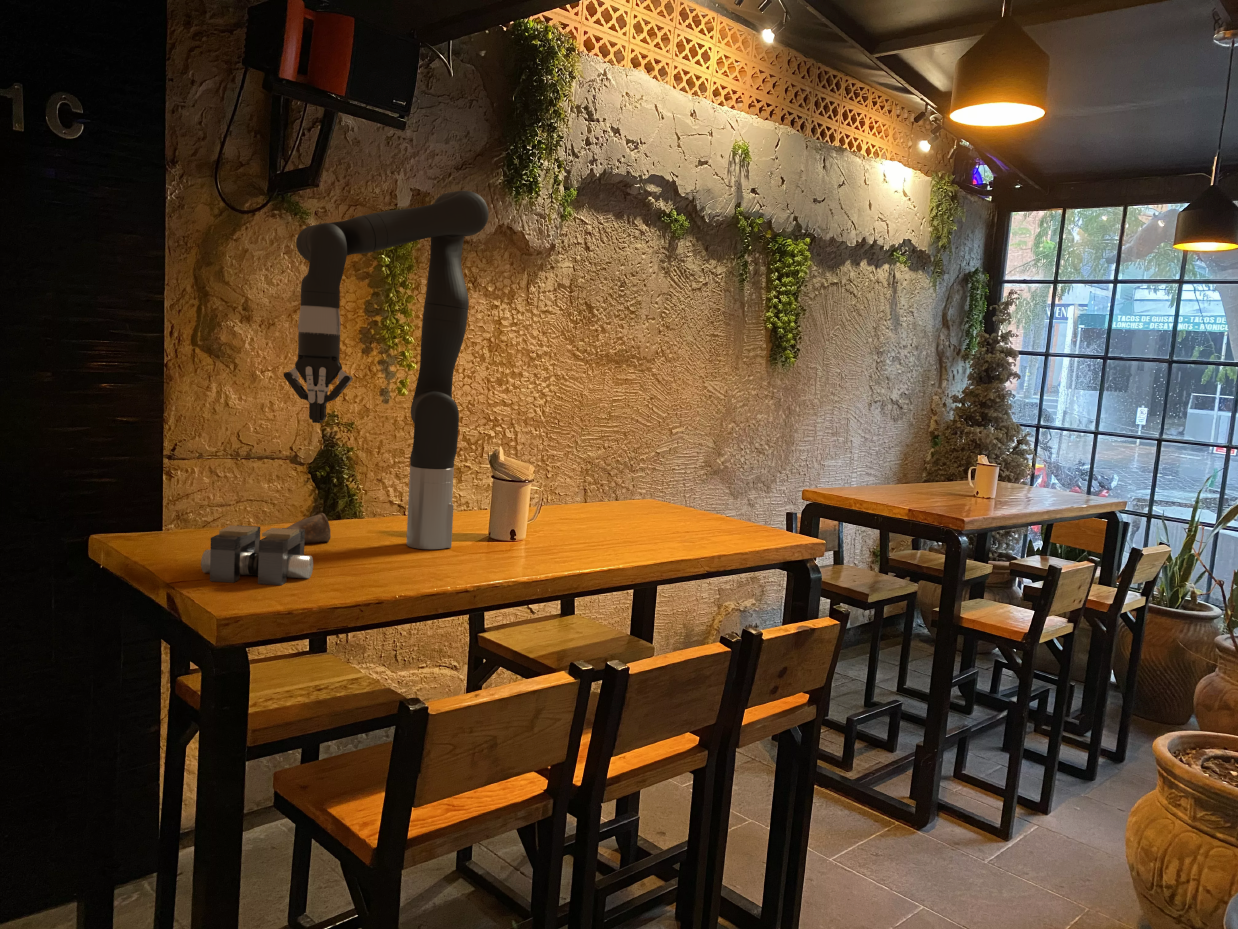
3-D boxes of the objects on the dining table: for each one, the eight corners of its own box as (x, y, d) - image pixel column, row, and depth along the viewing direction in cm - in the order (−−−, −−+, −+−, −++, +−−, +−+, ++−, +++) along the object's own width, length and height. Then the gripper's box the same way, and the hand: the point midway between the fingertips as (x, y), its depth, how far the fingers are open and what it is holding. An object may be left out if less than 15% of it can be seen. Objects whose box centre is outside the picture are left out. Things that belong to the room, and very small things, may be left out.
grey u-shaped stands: (303, 569, 161) (305, 526, 160) (281, 585, 149) (283, 538, 149) (237, 565, 161) (238, 522, 160) (209, 581, 149) (210, 534, 148)
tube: (312, 574, 157) (313, 553, 157) (305, 581, 154) (306, 559, 153) (210, 569, 157) (210, 547, 156) (201, 575, 153) (201, 552, 152)
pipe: (271, 531, 170) (325, 524, 173) (280, 516, 186) (329, 509, 189) (276, 563, 171) (329, 556, 174) (284, 545, 187) (333, 538, 190)
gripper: (359, 334, 171) (356, 423, 173) (289, 330, 170) (288, 419, 172) (350, 333, 163) (347, 426, 165) (277, 328, 162) (275, 422, 164)
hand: (317, 422), depth 168 cm, fingers closed
